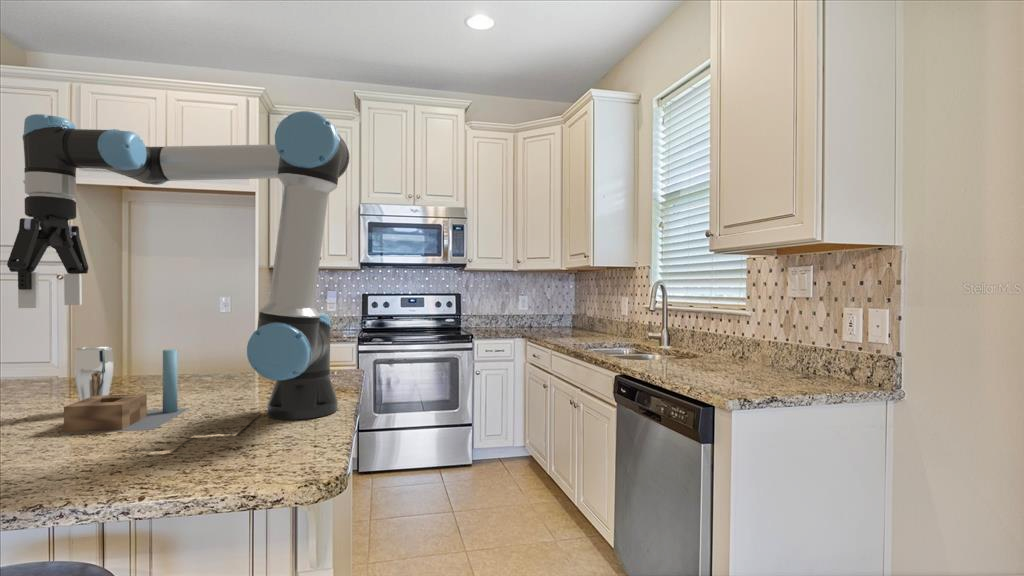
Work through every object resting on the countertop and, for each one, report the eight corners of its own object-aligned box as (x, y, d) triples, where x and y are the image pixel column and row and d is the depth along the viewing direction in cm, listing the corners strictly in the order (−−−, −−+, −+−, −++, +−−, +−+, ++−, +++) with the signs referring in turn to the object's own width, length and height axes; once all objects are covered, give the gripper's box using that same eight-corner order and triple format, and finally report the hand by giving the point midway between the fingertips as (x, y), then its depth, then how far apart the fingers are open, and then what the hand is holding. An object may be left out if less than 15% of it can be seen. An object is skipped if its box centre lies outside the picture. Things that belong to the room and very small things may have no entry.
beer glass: (96, 417, 113) (96, 349, 113) (65, 417, 113) (65, 349, 113) (121, 410, 120) (121, 346, 120) (91, 409, 120) (91, 345, 120)
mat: (189, 410, 120) (190, 408, 120) (153, 432, 102) (153, 429, 102) (111, 413, 116) (111, 411, 116) (60, 437, 99) (60, 433, 99)
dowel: (179, 410, 118) (179, 349, 118) (174, 413, 115) (174, 350, 115) (165, 410, 117) (166, 349, 117) (160, 413, 115) (160, 351, 114)
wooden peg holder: (146, 416, 112) (146, 394, 112) (122, 429, 102) (122, 404, 102) (93, 419, 110) (93, 395, 110) (63, 432, 100) (63, 406, 100)
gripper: (67, 206, 111) (68, 304, 111) (-23, 184, 87) (-21, 309, 87) (107, 207, 113) (108, 303, 113) (30, 186, 89) (32, 309, 89)
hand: (52, 306), depth 100 cm, fingers open, 13 cm apart
